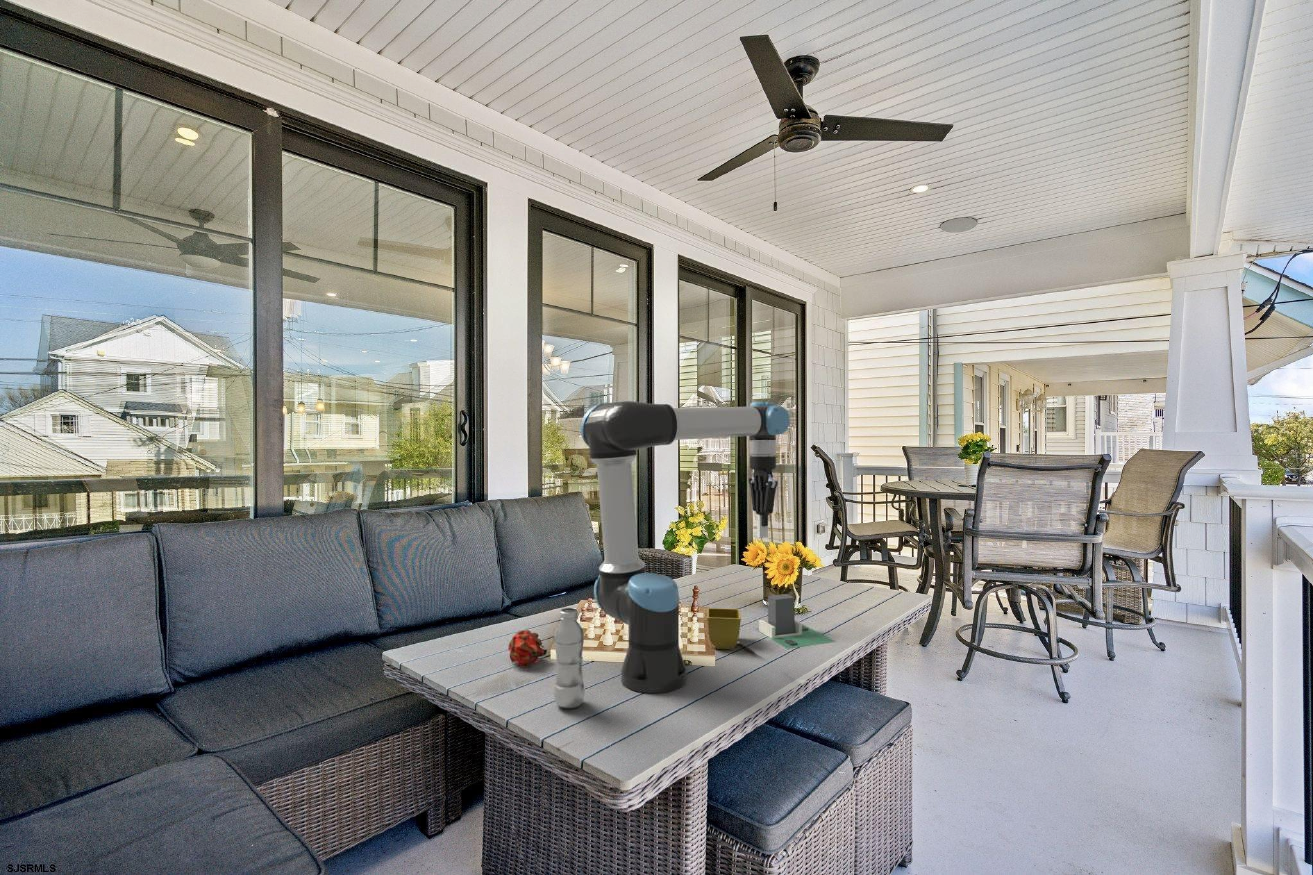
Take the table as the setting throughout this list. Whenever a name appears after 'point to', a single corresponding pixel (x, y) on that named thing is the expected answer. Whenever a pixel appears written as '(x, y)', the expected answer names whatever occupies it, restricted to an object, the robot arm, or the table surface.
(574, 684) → the plastic bottle
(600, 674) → the table surface
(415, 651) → the table surface
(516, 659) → the dragon fruit
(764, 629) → the board
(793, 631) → the plug
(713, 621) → the flower pot
